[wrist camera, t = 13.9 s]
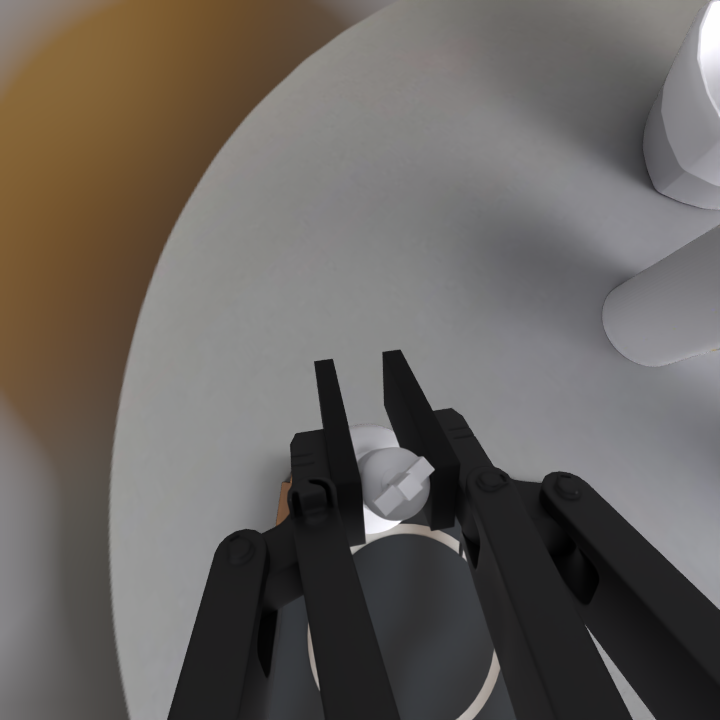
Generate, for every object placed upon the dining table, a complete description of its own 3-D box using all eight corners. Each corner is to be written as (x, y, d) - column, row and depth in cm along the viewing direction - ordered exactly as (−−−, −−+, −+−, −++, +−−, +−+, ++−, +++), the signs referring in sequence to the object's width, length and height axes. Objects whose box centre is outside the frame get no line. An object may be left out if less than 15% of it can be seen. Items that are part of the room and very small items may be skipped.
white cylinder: (680, 380, 36) (847, 340, 25) (593, 346, 36) (719, 290, 25) (693, 301, 38) (853, 229, 27) (612, 269, 39) (735, 184, 27)
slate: (237, 790, 27) (234, 801, 26) (285, 465, 32) (284, 465, 31) (543, 810, 28) (550, 821, 27) (541, 493, 33) (547, 494, 32)
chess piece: (292, 471, 19) (260, 476, 9) (371, 403, 20) (415, 345, 11) (361, 557, 18) (403, 657, 9) (440, 482, 20) (552, 497, 10)
